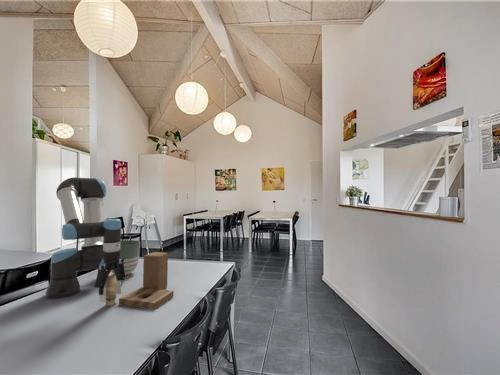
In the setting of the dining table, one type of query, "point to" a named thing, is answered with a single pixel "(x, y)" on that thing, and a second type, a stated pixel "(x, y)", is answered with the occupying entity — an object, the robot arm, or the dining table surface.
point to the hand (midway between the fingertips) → (110, 297)
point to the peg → (110, 290)
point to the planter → (129, 255)
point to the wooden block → (155, 270)
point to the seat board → (146, 298)
